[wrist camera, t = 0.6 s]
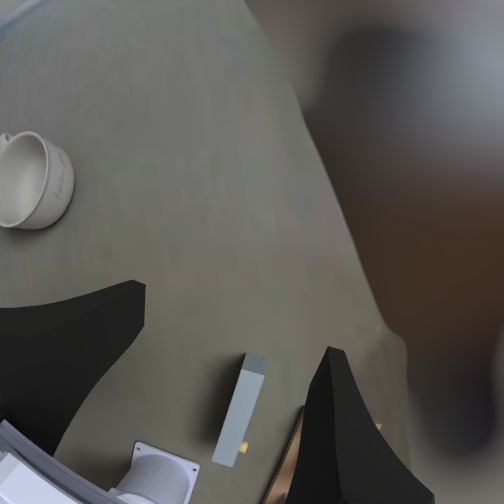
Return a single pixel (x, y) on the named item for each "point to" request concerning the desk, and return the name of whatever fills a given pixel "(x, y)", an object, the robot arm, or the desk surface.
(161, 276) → the desk surface
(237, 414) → the rectangular block
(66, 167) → the teacup
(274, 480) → the knife switch board
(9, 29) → the desk surface
